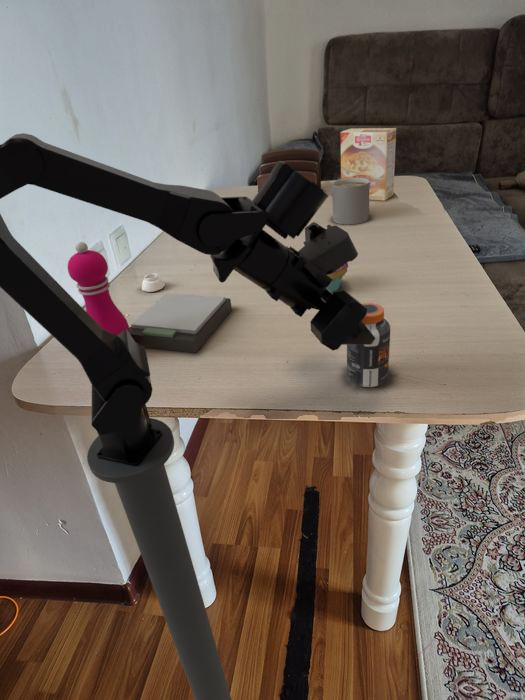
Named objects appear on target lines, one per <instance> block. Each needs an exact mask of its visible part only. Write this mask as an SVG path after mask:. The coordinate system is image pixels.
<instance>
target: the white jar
mask: <svg viewBox="0 0 525 700" xmlns="http://www.w3.org/2000/svg"><path fill="white" fill-rule="evenodd" d="M165 285H166V284H165V282H164V280H163V279H162V278H161V277H160V276H159V275H158V273H148V274H146V275H144V276H143V280H142V283H141V290H142V291H143V292H147V293H153V292H157V291H159V290H161V289H163V288H164V287H165Z"/></svg>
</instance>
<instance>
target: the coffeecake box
mask: <svg viewBox="0 0 525 700" xmlns="http://www.w3.org/2000/svg"><path fill="white" fill-rule="evenodd" d="M396 144H397V127H390V128H389V127H370V128H369V127H366V128H365V127H364V128H362V127H360V128H358V127H356V128H352V127H350V128H348V129H345V130H344V129H343V130H342V131H340V179H345V178H365V179H368V180H369V181H370V190H369V201H381V202H383V201H384V202H385V201H387V200H388V199H389V198H391V197H393V196H394V194H395V193H394V191H395V190H394V189H395V170H396V169H395V167H396Z"/></svg>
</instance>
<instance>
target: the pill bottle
mask: <svg viewBox="0 0 525 700" xmlns="http://www.w3.org/2000/svg"><path fill="white" fill-rule="evenodd" d="M361 304H362V305H363V306H365V307H366V308H367V314H366V316H365V317H364V318H363V319H362V322H363V323H364V324H365V326H366V327H367V328H368V329H369V331H370V332H371V333H372V334H373V336H374V337H375V340H374V341H373V342H372V344H370V345H363V344H346V377H347V379H348V380H349V382H351V383H352V384H353V385H355V386H359V387H363V388H375V387H378V386H380V385H383V384H384V383H385V382H386V381H387V380H388V378H389V366H390V365H389V363H390V348H391V347H390V346H391V324H390V323H389V321H388V320H387V319H385V308H384V307H383V306H382V305H380V304H378V303H374V302H363V303H361Z"/></svg>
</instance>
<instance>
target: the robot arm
mask: <svg viewBox="0 0 525 700" xmlns="http://www.w3.org/2000/svg"><path fill="white" fill-rule="evenodd" d="M27 185H30V186H35V187H38V188H42V189H45V190H48V191H51V192H53V193H57V194H60V195H63V196H66V197H69V198H72V199H75V200H78V201H82V202H84V203H88V204H89V205H90V204H91V205H94V206H97V207H100V208H102V209H106V210H109V211H112V212H115V213H118V214H121V215H125V216H128V217H130V218H134V219H137V220H140V221H142V222H146V223H148V224H150V225H152V226H154V227H156V228H157V229H159V230H161V231H162V232H164V233H166V234H167V235H168V236H170V237H171V238H173V239H174V240H177V241H178V242H180V243H182V244H183V245H185V246H188V247H190V248H192V249H194V250H196V251H197V252H199V253H201V254H203V255H208V256H209V257H210V259H211V261H212V268H213V269H212V270H213V273H214V275H215V276H216V278H217V280H218V281H219V282H220V283H226V280H227V279H228V278H229V277H230V275H231V274H232V272H233V271H235V272H237V273H238V274H239V275H240V276H242V277H244V278H246V279H247V280H248V281H250V282H252V283H253V284H255V285H256V286H258V287H259V288H261V289H262V290H264V292H266V294H267V295H269V296H268V297H270V298H271V299H272V300H274V301H275V302H278V301H280V302H282V303H283V304H285V305H286V306H288V307H289V308H290V309H291V310H292V312H293V313H294V314H295V315H297V316H298V317H299V318H302V317H303V316H304V314H305V313H306V312H307V310H308V311H310V310H311V309H312V310H317V312H316V313H315V315H314V316H313V317H312V319H311V320H310V331H311V333H312V334H313V336H315V338H316V339H317V340H318V341H319V342H320V343H321V345H323V346H324V347H326V348H327V349H329V350H331V351H337V350H339V348H341V346H343V345H344V346H345V345H347V344H363V345H370V344H372V342H373V341H374V340H375V337H374V336H373V334H372V333H371V332H370V331H369V329H368V328H367V327H366V326H365V324H364V323H363V322H362V319H363V318H364V317H365V316H366V314H367V308H366V307H365V306H363V305H362V304H363V303H361V302H360V301H359V300H358V299H357V298H355V297H354V296H353V295H352V294H350V293H349V292H347V291H346V290H345V289H340V290H336V291H334V292H330V291H328V290H327V289H326V288H327V287H328V286H329V284H330V283H331V282H332V281H333V279H331V278H330V277H329V276H328V275H326V274H331V273H333V272H335V271H336V270H338V269H339V268H340V267H342V266H343V265H345V264H346V263H349V262H353V261H355V260H356V259H357V258H358V255H359V252H358V251H357V249H356V247H355V245H354V243H353V240H352V239H351V236H350V234H349V232H348V231H346V230H344V229H343V228H342V227H340V226H338V225H332V224H331V225H330V224H327V225H326V228H325V227H323V226H321V225H320V224H319V223H317V222H316V221H312V222H311V223H310V221H311V220H312V219H313V218H314V216H315V215H316V213H317V212H318V211H319V209H320V208H321V207H322V205H323V204H324V203H325V201H326V200H327V199H328V198H329V196H328V194H327V192H325V191H324V190H323V189H322V187H321V188H320V187H319V186H317V185H316V184H315V183H314V182H312V181H310V180H308V179H307V178H305V177H303V176H302V175H301V174H299V173H298V172H296V171H295V170H294V169H292V168H291V167H290V166H289V165H288V164H286V163H284V162H282V161H278V162H277V164H276V165H275V167H274V168H273V170H272V172H271V174H270V176H269V178H268V179H267V181H266V182H265V184H264V185H263V186H262V188H261V189H260V191H259V192H258V191H257V193H256V195H255V197H254V198H253V199H251V198H249V197H248V196H222V197H221V196H220V195H219V194H217V192H214V191H212V190H209V189H204V188H198V187H192V186H186V185H180V184H179V185H178V184H167V183H160V182H156V181H155V182H154V181H151V180H149V179H146V178H144V177H141V176H137V175H136V174H135V175H134V174H133V173H130V172H126V171H124V170H121V169H118V168H115V167H113V166H110V165H107V164H105V163H103V162H99V161H96V160H94V159H91V158H88V157H86V156H83V155H80V154H78V153H74V152H72V151H68V150H67V149H64V148H60V147H59V146H58V147H57V146H56V145H53V144H50V143H48V142H45V141H43V140H41V139H39V138H38V137H37V136H35V135H33V134H29V133H25V132H23V133H17V134H14V135H12V136H11V137H9V138H8V139H6V140H5V141H4V142H2V143H1V144H0V200H1V199H3V198H4V197H6V196H8V195H10V194H12V193H13V192H15V191H17V190H19V189H21V188H23V187H25V186H27ZM265 226H267V227H268V228H270V229H271V230H272V231H274V232H275V233H276V234H277V235H279V236H280V237H281V238H283V239H284V240H287V238H288V237H290V238H291V239H293V240H294V239H295V238H296V237H299V236H300V235H301V233H302V232H303V231H304V241H303V242H302V243H303V245H304V246H302V247H301V248H300V249H299V250H296V249H295V248H294V247H292V246H291V245H290V246H289V247H288V246H286V245H284V244H283V243H282V242H280V241H279V240H277V238H275V237H273V236H272V235H271V234H270V233H268V232H267V231H266V230H264V228H265ZM0 289H1V290H2V291H4V293H5V294H7V295H8V296H9V297H10V298H11V299H12V300H13V301H14V302H15V303H16V304H18V306H20V307H21V308H22V309H23V310H24V311H25V312H26V313H27V314H28V315H29V316H30V317H31V318H33V319H34V320H35V321H36V323H38V324H39V325H40V326H41V327H42V328H43V329H44V330H45V331H47V333H49V334H50V335H51V336H52V337H53V338H54V339H55V340H56V341H57V342H58V343H59V344H60V345H62V347H64V349H66V351H68V353H70V354H71V355H72V356H73V357H74V358H76V359H77V360H78V362H79V363H80V365H81V367H82V369H83V371H84V373H85V375H86V376H87V379H88V380H89V382H90V384H91V426H92V428H93V429H95V431H96V433H97V435H98V436H99V438H100V441H101V443H102V446H103V447H102V448H101V450H100V451H99V452H98V453H97V457H98V458H99V459H103V460H107V461H112V462H117V463H122V464H126V465H131V466H139V465H140V464H141V462H142V461H143V460H144V458H145V457H146V456H147V454H148V453H149V452H150V450H151V449H152V448H153V446H154V445H155V444H156V442H157V441H158V440H159V438H160V437H161V436H162V431H160V430H155V429H151V427H152V425H151V421H150V418H151V417H150V414H149V411H148V407H147V403H148V402H149V401H150V399H151V397H152V394H153V385H152V380H151V371H150V365H149V361H148V355H147V350H146V349H147V348H146V347H142V346H140V345H139V344H137V343H136V342H135V341H134V340H133V338H132V337H131V335H130V333H129V332H128V331H127V330H126V329H124V330H123V331H122V332H121V333H120V334H119V335H118V336H117V335H115V334H112V333H110V332H107V331H105V330H104V329H103V328H101V327H100V325H99V324H98V323H97V322H96V321H95V320H94V319H93V318H92V317H91V316H90V315H89V314H88V313H87V312H86V309H84V308H83V307H82V306H81V304H79V303H78V302H77V301H76V300H75V298H73V297H72V295H70V293H68V292H67V290H66V289H64V287H63V286H62V285H61V284H60V283H59V282H58V281H57V280H56V279H55V278H54V277H53V276H52V275H51V274H50V273H49V272H48V271H47V270H46V269H45V268H44V267H43V266H42V265H41V264H40V263H39V262H38V261H37V260H36V259H35V258H34V256H32V254H31V253H30V252H28V251H27V250H26V249H25V248H24V246H22V245H21V244H20V242H18V240H17V239H16V238H15V237H14V236H13V234H12V233H11V231H10V229H9V227H8V225H7V223H6V222H5V220H4V217H3V216H2V214H1V213H0Z"/></svg>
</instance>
